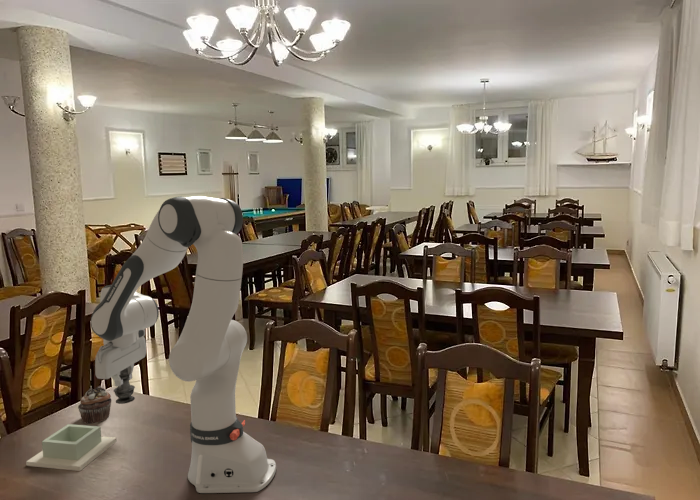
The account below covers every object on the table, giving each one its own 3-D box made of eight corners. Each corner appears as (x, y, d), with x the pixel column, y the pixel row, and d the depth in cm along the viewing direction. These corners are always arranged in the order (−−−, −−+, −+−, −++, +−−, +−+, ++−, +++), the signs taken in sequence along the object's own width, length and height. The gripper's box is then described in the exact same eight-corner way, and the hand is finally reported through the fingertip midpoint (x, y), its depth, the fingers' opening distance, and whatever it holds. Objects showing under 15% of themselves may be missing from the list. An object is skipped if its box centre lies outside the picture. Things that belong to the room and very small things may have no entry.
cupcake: (101, 409, 178) (99, 380, 177) (118, 416, 173) (116, 386, 171) (73, 419, 171) (70, 389, 169) (89, 427, 165) (86, 396, 164)
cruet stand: (116, 441, 156) (115, 423, 155) (79, 470, 141) (78, 450, 140) (67, 437, 159) (66, 419, 158) (26, 465, 143) (24, 445, 143)
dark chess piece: (128, 404, 156) (124, 365, 154) (110, 403, 157) (106, 364, 156) (139, 396, 162) (136, 358, 160) (122, 395, 163) (119, 357, 161)
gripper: (107, 348, 146) (112, 397, 148) (148, 328, 166) (151, 370, 168) (86, 348, 147) (91, 396, 149) (129, 327, 167) (133, 370, 169)
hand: (123, 382), depth 159 cm, fingers closed on dark chess piece, 3 cm apart
